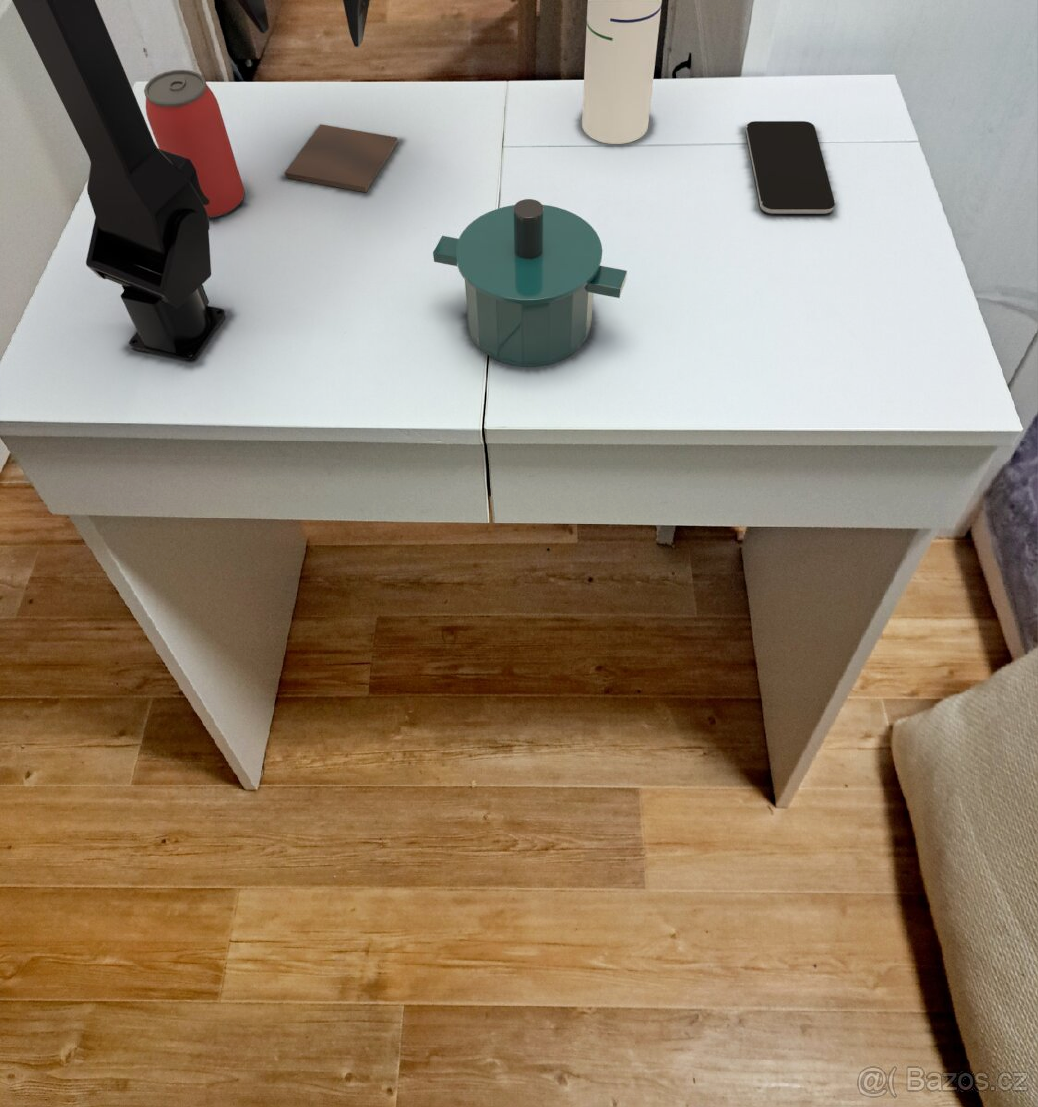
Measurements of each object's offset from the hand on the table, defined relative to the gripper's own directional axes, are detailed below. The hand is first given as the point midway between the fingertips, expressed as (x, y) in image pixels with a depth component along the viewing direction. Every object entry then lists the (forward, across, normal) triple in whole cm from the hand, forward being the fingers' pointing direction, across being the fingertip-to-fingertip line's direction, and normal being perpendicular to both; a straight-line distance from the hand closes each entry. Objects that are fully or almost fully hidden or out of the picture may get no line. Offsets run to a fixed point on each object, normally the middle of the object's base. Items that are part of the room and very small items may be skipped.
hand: (311, 37), depth 84 cm
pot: (+14, -25, +16) cm, 33 cm away
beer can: (+14, +11, +7) cm, 19 cm away
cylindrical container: (+14, -26, -16) cm, 34 cm away
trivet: (+14, +1, -3) cm, 14 cm away
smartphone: (+14, -45, -13) cm, 48 cm away
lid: (+7, -25, +16) cm, 30 cm away
